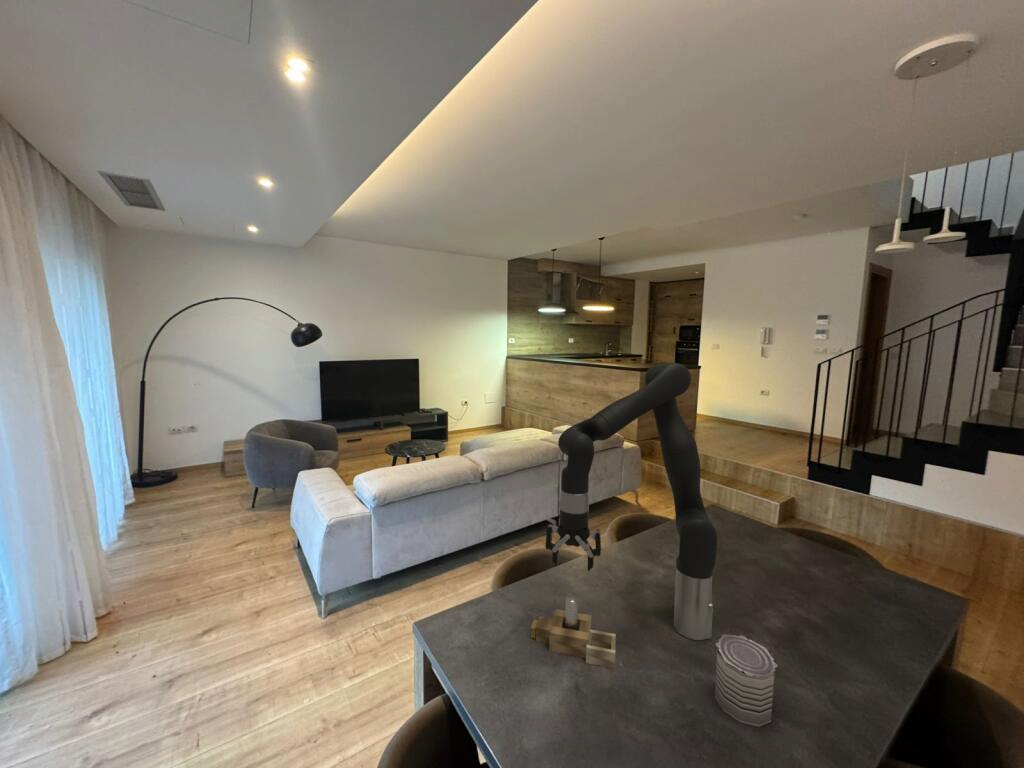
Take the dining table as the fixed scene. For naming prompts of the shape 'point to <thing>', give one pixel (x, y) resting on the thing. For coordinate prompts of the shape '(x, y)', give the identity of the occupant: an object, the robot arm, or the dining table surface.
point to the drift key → (534, 628)
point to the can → (744, 679)
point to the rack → (601, 649)
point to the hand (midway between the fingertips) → (572, 566)
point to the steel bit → (571, 612)
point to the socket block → (564, 634)
